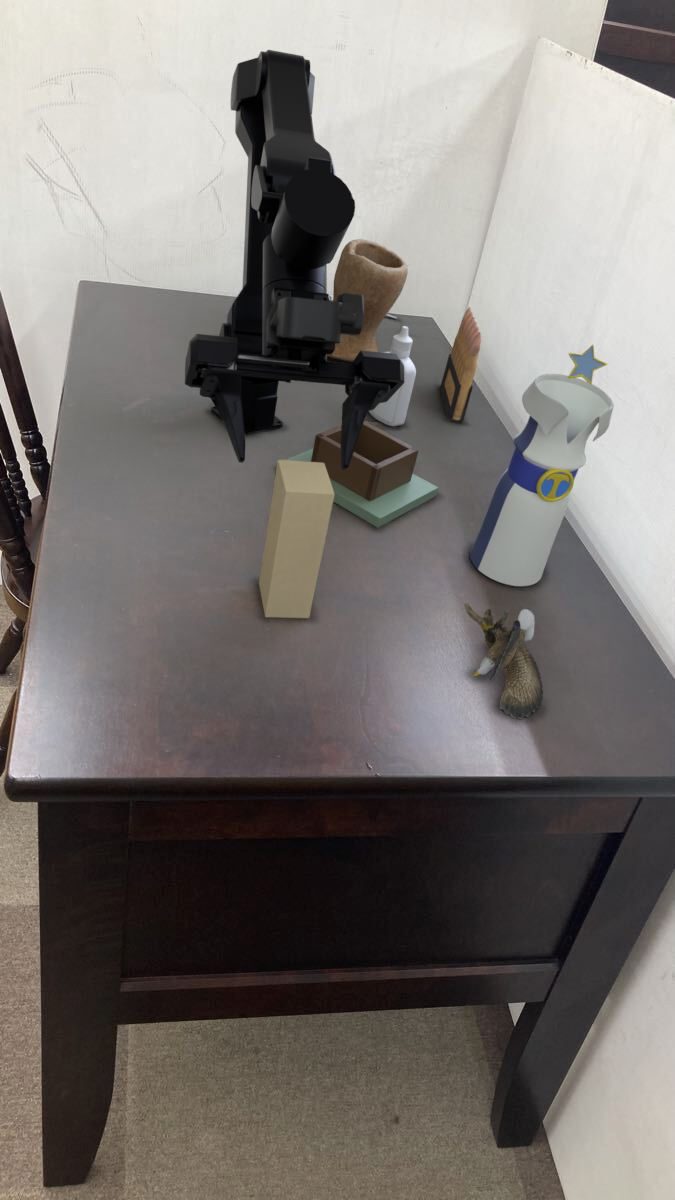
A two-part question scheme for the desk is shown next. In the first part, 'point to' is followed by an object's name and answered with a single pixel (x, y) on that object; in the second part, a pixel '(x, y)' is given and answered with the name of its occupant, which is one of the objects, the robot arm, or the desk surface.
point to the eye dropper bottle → (399, 402)
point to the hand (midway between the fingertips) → (294, 464)
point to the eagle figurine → (511, 661)
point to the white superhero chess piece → (541, 473)
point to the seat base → (371, 474)
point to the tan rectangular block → (295, 538)
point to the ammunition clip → (461, 368)
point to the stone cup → (367, 290)
